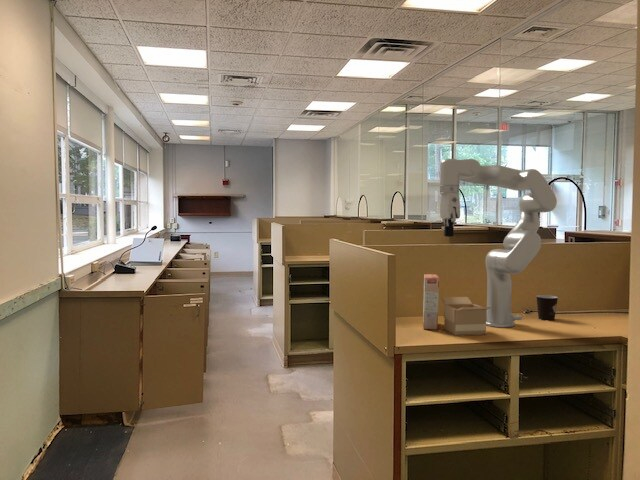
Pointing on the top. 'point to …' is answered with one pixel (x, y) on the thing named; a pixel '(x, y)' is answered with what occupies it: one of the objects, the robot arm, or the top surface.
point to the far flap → (456, 300)
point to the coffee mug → (546, 307)
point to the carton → (464, 320)
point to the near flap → (473, 308)
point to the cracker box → (430, 301)
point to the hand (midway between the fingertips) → (448, 236)
